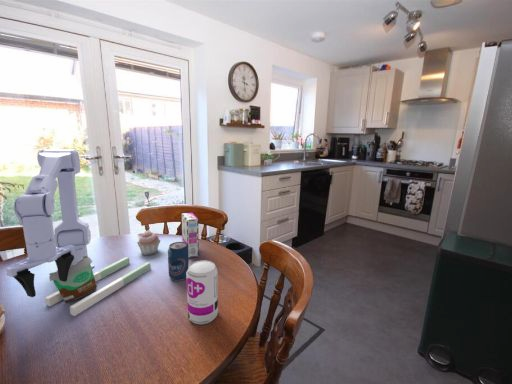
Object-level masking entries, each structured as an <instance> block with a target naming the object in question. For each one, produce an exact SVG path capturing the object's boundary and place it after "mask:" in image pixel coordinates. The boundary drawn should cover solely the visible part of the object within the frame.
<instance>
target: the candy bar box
mask: <svg viewBox="0 0 512 384" xmlns="http://www.w3.org/2000/svg"><path fill="white" fill-rule="evenodd" d="M181 239H182V241H181V242H184V243H186V246H187V247H188V254H189V259H190V258H191V259H192V258H197V257H199V256H200V255H199V253H200V252H199V248H200V247H199V246H200V245H199V243H200V242H199V218H198V217H197V216H196V215H195V214H194V213H193V212H183V213H181Z"/></svg>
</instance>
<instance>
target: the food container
mask: <svg viewBox="0 0 512 384" xmlns="http://www.w3.org/2000/svg"><path fill="white" fill-rule="evenodd" d="M92 263H93V260H92V258H90V257H89V255H88V256H83V259H82V260H81V261H79V262H77V263H74V264H71V266H70V268H69V272H68V277H67V281H65V282H63V281H60V279H59V275H58V271H54V272H51V273H48V274H49V277H48V278H49V282H53V283H54V285H55V287H56V289H57V291H59V292H60V294H61V296H62V297H63V301H64V303H70V302H73V301H75V300H78V299H81V298H82V297H86V295H88V294H89V293H91V292H92V291H94V290H96V288H97V287H98V285H97V283H96V282H97V281H96V282H95V278H94V275H93V273H94V272H93V271H94V270H93V268H91V264H92Z"/></svg>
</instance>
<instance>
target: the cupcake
mask: <svg viewBox="0 0 512 384" xmlns="http://www.w3.org/2000/svg"><path fill="white" fill-rule="evenodd" d="M161 241H162V240H161V239H160V238H159V236H158V235H157V234H156V233H155V232H153V231H150V229H147V230H145V231H144V232H143V233H142V234H141V235H140V237H139V239H138V241H137V242H136V244H137V246H138V247H139V250H140V252H141V255H145V256H151V255H154V254H156V253H157V252H158V251H159V250H158V249H159V245H160V243H161Z"/></svg>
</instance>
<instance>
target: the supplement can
mask: <svg viewBox="0 0 512 384" xmlns="http://www.w3.org/2000/svg"><path fill="white" fill-rule="evenodd" d="M218 272H219V271H218V269H217V266H216V264H215V263H214V262H213V261H211V260H197V261H193V262H192V263H189V268H188V270H187V272H186V278H185V279H186V299H187V301H186V302H187V318H188V320H189V321H190V322H192V323H193V324H195V325H206V324H209V323H211V322H212V321H214V320H215V319H216V317H217V316H218V313H219V303H218V302H219V291H218V288H219V287H218V286H219V285H218V284H219V283H218V282H219V281H218V280H219V279H218Z"/></svg>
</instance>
